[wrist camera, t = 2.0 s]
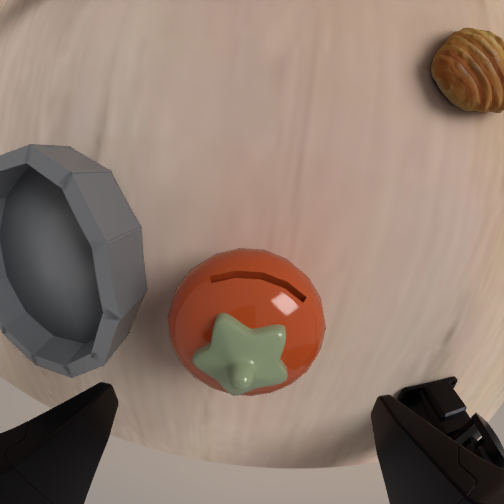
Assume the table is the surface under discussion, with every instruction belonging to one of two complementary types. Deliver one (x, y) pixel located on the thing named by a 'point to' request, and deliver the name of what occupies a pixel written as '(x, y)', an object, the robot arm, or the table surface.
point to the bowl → (66, 259)
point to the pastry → (471, 70)
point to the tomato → (246, 322)
